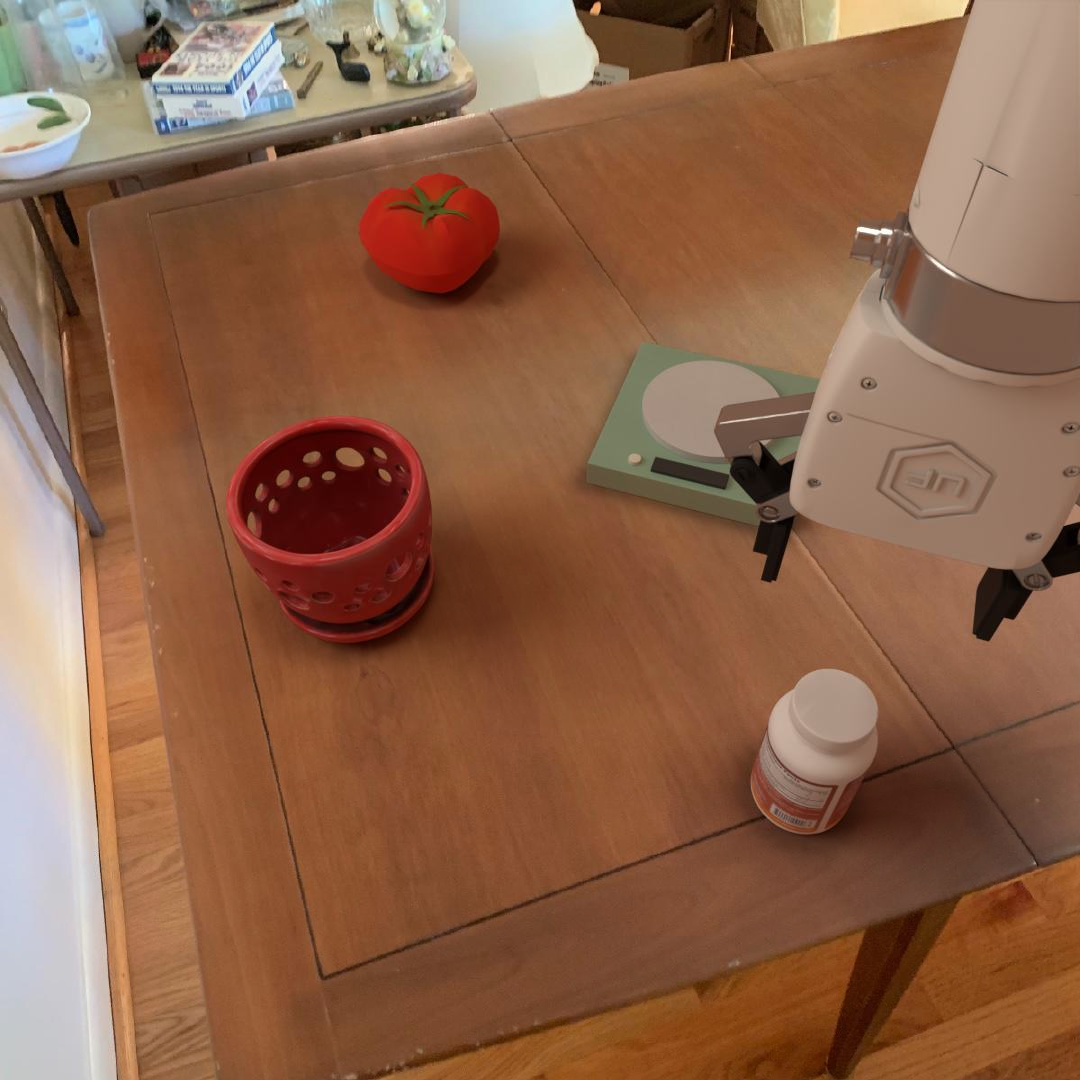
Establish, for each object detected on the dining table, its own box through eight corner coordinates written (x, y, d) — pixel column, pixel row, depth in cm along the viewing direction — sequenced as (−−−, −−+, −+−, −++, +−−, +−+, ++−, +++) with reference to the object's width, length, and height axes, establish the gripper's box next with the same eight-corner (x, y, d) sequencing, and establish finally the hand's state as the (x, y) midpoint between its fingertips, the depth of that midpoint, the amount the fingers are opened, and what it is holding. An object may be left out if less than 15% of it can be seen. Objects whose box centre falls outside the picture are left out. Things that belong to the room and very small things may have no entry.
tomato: (372, 323, 93) (358, 242, 86) (361, 248, 101) (348, 169, 94) (515, 304, 94) (512, 224, 88) (493, 232, 102) (489, 153, 95)
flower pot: (320, 505, 78) (289, 392, 69) (470, 550, 75) (458, 439, 66) (230, 631, 70) (182, 524, 61) (393, 688, 67) (367, 584, 58)
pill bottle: (821, 737, 64) (862, 645, 56) (864, 823, 61) (914, 739, 52) (733, 759, 64) (761, 669, 55) (771, 848, 60) (807, 766, 51)
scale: (816, 400, 85) (824, 372, 83) (782, 533, 76) (789, 505, 73) (640, 361, 89) (643, 333, 86) (586, 483, 79) (587, 455, 77)
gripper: (727, 293, 32) (675, 598, 45) (1311, 413, 28) (1069, 708, 42) (772, 178, 37) (713, 486, 50) (1282, 268, 33) (1071, 576, 46)
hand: (875, 586), depth 46 cm, fingers open, 9 cm apart
